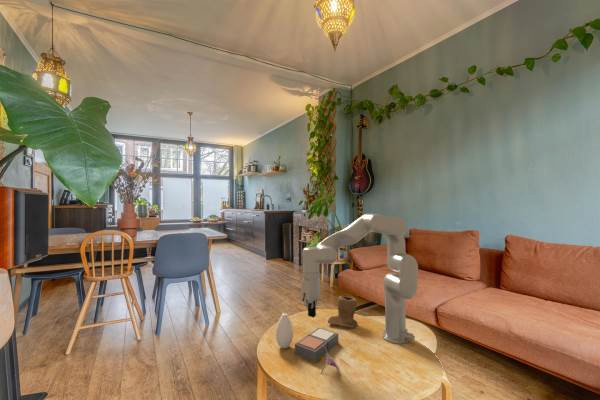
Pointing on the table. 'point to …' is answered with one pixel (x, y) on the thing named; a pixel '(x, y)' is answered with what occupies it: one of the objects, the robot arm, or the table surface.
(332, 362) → the lily
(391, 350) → the table surface
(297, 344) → the key console
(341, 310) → the brown boot
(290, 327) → the sauce bottle
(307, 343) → the key terracotta
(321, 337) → the key white
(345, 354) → the table surface
